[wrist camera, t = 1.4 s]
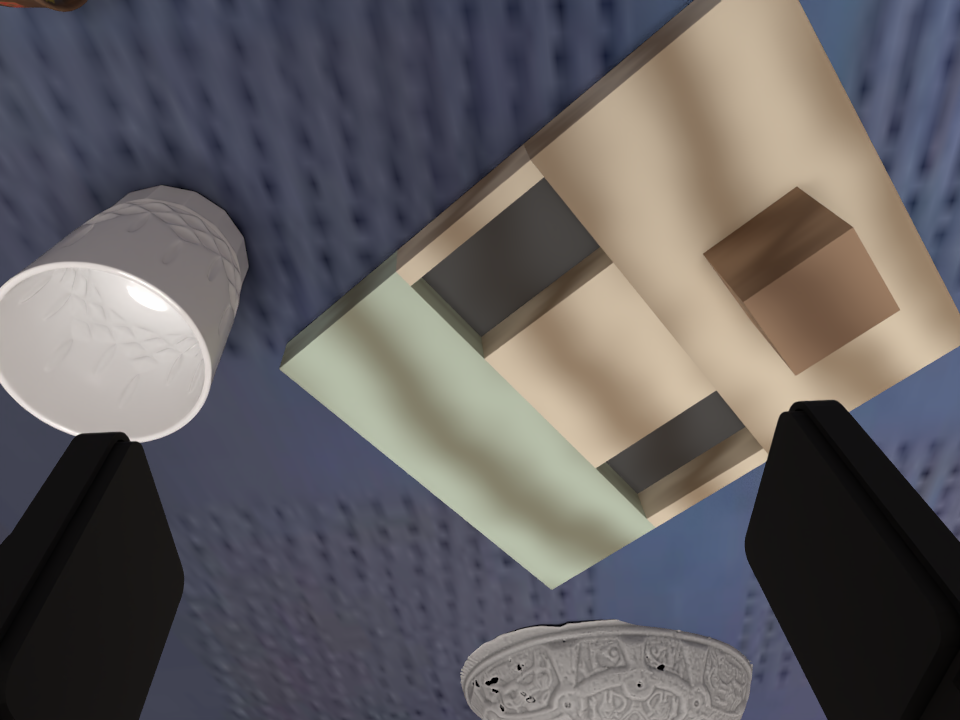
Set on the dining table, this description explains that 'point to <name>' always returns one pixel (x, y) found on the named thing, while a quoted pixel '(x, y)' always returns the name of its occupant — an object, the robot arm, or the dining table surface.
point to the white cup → (125, 316)
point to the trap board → (622, 297)
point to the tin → (45, 4)
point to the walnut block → (802, 279)
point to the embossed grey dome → (607, 674)
